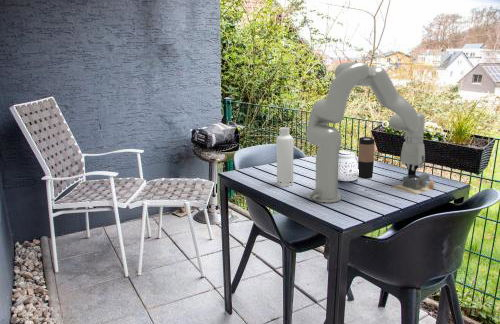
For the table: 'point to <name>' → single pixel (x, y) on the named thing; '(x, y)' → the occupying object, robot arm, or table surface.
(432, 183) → the dowel
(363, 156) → the travel mug
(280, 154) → the bottle
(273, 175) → the table surface
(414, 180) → the flange
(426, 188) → the board
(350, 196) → the table surface
